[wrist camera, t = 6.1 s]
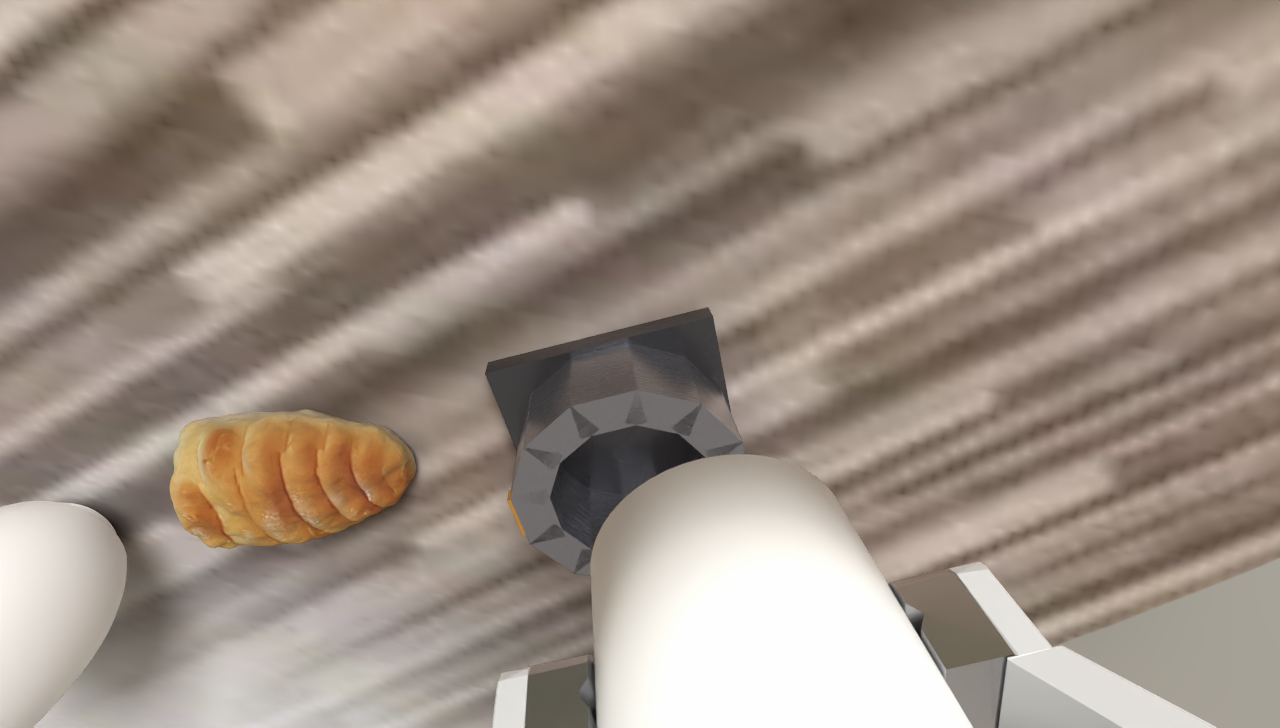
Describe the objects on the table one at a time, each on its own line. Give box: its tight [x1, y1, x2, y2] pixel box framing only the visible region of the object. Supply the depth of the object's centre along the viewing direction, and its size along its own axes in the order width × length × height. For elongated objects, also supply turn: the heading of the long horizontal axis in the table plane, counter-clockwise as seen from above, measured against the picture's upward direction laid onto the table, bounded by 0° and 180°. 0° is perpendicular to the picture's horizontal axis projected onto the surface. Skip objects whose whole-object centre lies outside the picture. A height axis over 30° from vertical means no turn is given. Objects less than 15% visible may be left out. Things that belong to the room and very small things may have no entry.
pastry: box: [170, 409, 417, 549], centre depth 27 cm, size 9×7×4 cm
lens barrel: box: [485, 308, 745, 576], centre depth 27 cm, size 10×10×5 cm
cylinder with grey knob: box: [590, 454, 973, 728], centre depth 10 cm, size 5×5×5 cm
